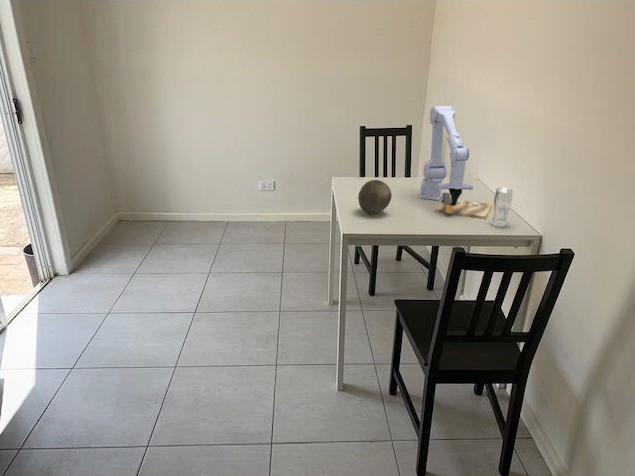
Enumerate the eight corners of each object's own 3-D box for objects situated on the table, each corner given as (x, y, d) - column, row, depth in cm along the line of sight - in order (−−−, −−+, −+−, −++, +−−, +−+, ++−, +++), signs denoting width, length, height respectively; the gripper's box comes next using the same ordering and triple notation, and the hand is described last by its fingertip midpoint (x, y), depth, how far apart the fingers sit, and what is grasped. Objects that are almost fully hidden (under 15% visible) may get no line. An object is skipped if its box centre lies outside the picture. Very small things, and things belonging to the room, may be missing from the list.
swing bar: (441, 198, 222) (442, 192, 221) (448, 199, 222) (449, 192, 220) (445, 212, 205) (445, 205, 204) (452, 212, 205) (453, 205, 204)
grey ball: (364, 220, 203) (366, 186, 197) (353, 209, 215) (354, 177, 209) (395, 217, 206) (397, 184, 200) (382, 206, 219) (384, 175, 213)
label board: (434, 211, 212) (435, 207, 212) (443, 200, 227) (444, 196, 226) (485, 219, 203) (486, 215, 203) (491, 206, 218) (492, 203, 217)
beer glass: (495, 220, 202) (500, 186, 196) (510, 224, 197) (516, 190, 192) (487, 224, 198) (492, 190, 192) (503, 228, 193) (508, 193, 187)
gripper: (441, 177, 200) (438, 207, 206) (476, 178, 199) (472, 208, 205) (438, 173, 207) (435, 202, 212) (472, 173, 206) (468, 203, 211)
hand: (453, 204), depth 209 cm, fingers closed
